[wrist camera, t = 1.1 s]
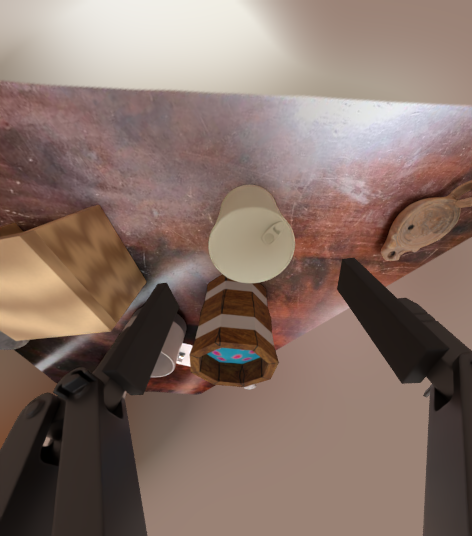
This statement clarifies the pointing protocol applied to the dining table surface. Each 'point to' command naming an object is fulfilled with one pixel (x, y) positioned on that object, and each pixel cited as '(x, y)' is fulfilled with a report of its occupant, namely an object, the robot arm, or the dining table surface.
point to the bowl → (10, 342)
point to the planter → (167, 346)
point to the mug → (234, 335)
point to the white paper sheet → (184, 355)
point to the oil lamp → (424, 222)
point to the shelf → (65, 277)
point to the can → (250, 236)
